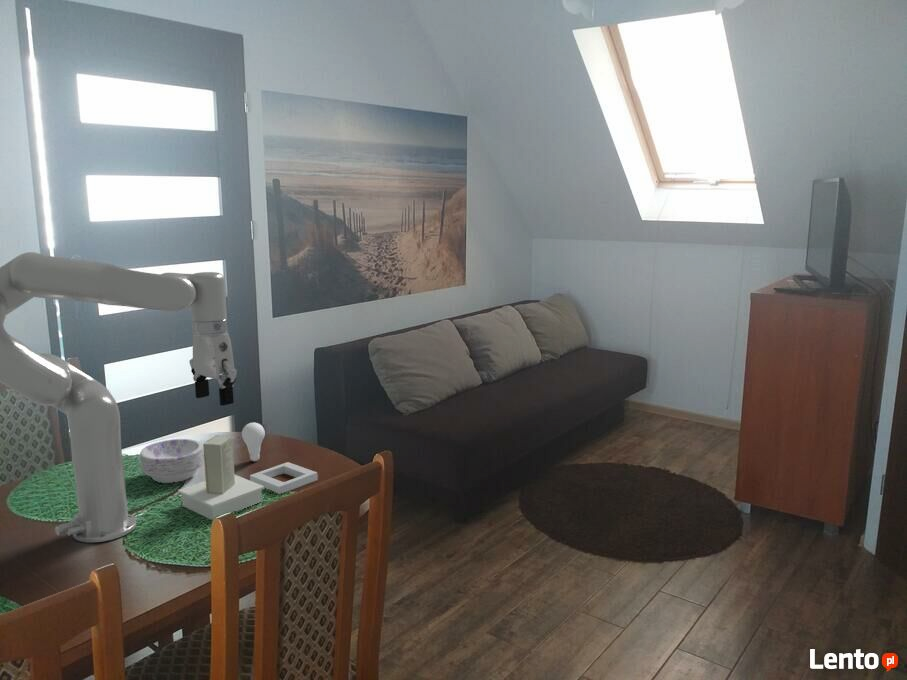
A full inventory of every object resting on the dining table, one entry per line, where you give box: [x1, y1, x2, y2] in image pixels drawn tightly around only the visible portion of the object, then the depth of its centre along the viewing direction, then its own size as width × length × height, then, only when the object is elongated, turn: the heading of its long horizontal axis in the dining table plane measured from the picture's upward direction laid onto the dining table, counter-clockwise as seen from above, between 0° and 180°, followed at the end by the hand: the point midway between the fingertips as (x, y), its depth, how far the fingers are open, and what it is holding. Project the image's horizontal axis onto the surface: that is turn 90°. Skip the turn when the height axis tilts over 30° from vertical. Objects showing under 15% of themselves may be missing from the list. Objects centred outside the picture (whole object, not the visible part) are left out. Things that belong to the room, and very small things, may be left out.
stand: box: [177, 473, 265, 521], centre depth 170 cm, size 14×14×4 cm
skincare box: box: [202, 434, 235, 494], centre depth 168 cm, size 6×4×12 cm
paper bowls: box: [139, 438, 205, 484], centre depth 187 cm, size 15×15×8 cm
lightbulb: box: [241, 422, 266, 462], centre depth 197 cm, size 6×6×11 cm
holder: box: [249, 461, 319, 495], centre depth 184 cm, size 12×12×2 cm
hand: (214, 400), depth 166 cm, fingers open, 9 cm apart
